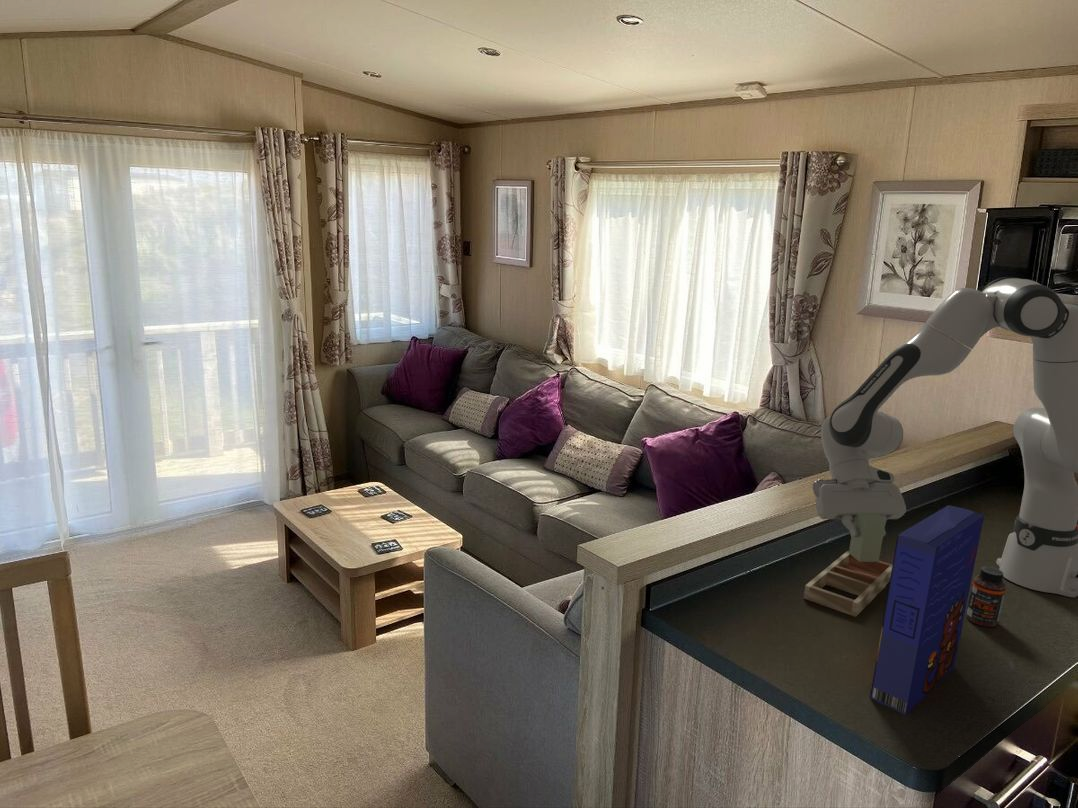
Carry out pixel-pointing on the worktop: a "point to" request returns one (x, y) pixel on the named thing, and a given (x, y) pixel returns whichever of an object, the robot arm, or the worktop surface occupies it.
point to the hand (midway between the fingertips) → (868, 536)
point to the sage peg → (867, 537)
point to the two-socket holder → (849, 583)
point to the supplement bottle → (986, 597)
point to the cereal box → (925, 606)
